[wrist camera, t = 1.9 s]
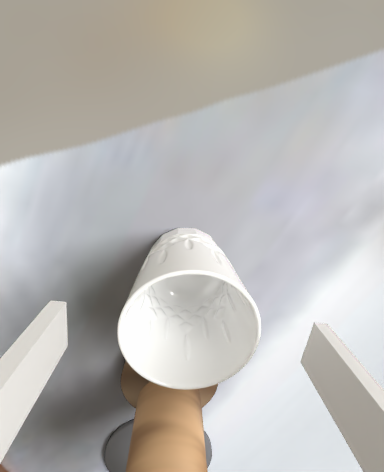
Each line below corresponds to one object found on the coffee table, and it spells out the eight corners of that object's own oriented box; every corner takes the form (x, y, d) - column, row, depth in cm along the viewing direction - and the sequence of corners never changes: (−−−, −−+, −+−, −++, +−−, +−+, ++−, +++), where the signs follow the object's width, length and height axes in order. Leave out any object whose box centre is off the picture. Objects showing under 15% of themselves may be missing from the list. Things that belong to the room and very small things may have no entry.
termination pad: (203, 486, 33) (203, 492, 33) (104, 484, 32) (103, 490, 32) (219, 416, 29) (219, 421, 29) (107, 411, 28) (106, 417, 28)
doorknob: (208, 406, 29) (238, 658, 14) (121, 402, 28) (61, 666, 14) (223, 336, 26) (280, 565, 11) (126, 328, 25) (54, 567, 11)
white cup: (143, 298, 24) (121, 391, 15) (141, 219, 22) (112, 269, 12) (224, 298, 24) (253, 389, 15) (230, 221, 22) (270, 271, 13)
